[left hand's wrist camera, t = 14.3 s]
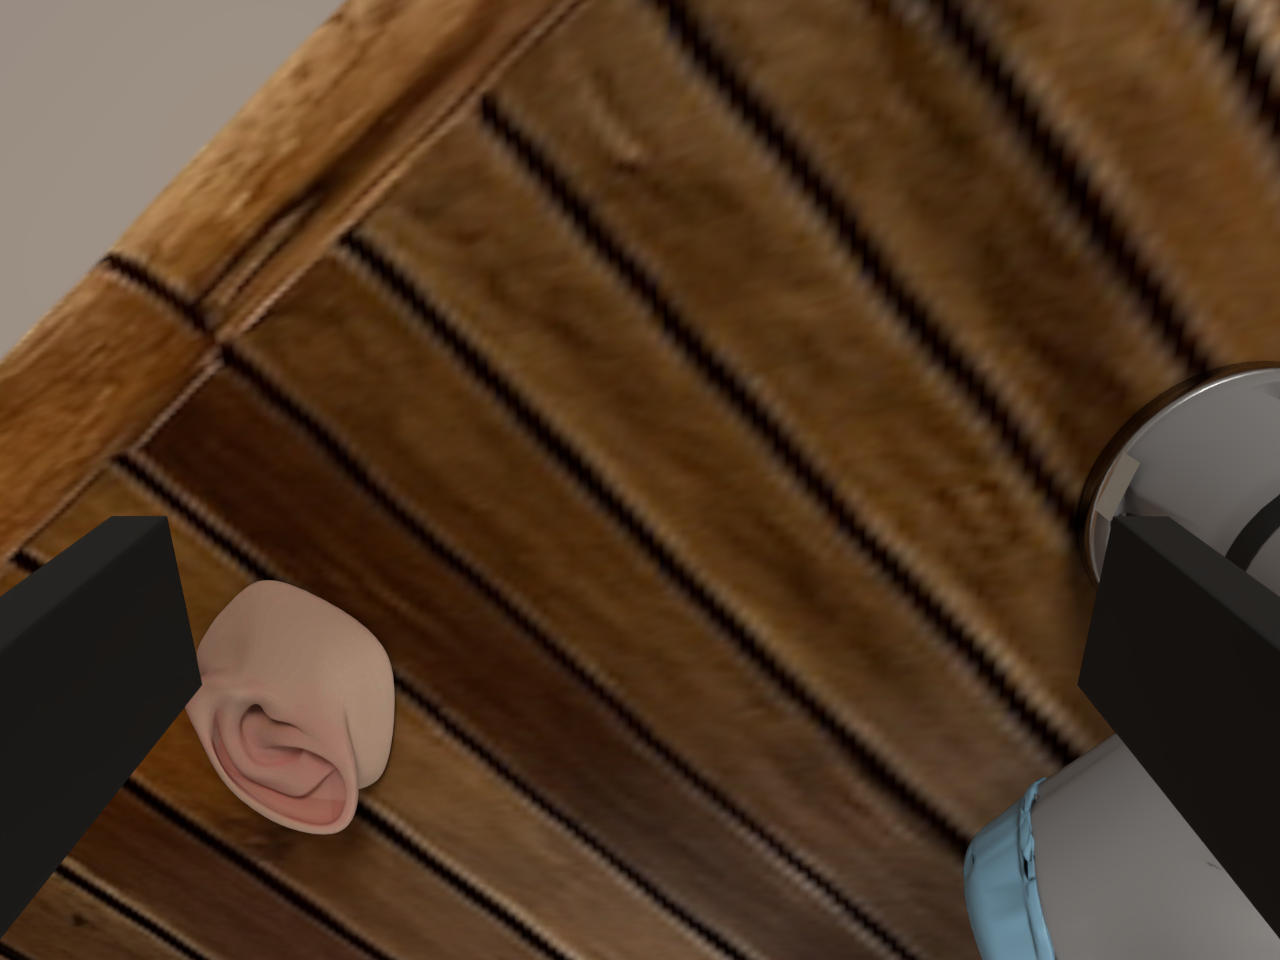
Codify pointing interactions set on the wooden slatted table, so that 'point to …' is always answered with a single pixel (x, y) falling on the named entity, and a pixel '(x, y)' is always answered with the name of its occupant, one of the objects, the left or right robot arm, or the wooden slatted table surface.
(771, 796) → the wooden slatted table surface
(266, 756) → the anatomical model
